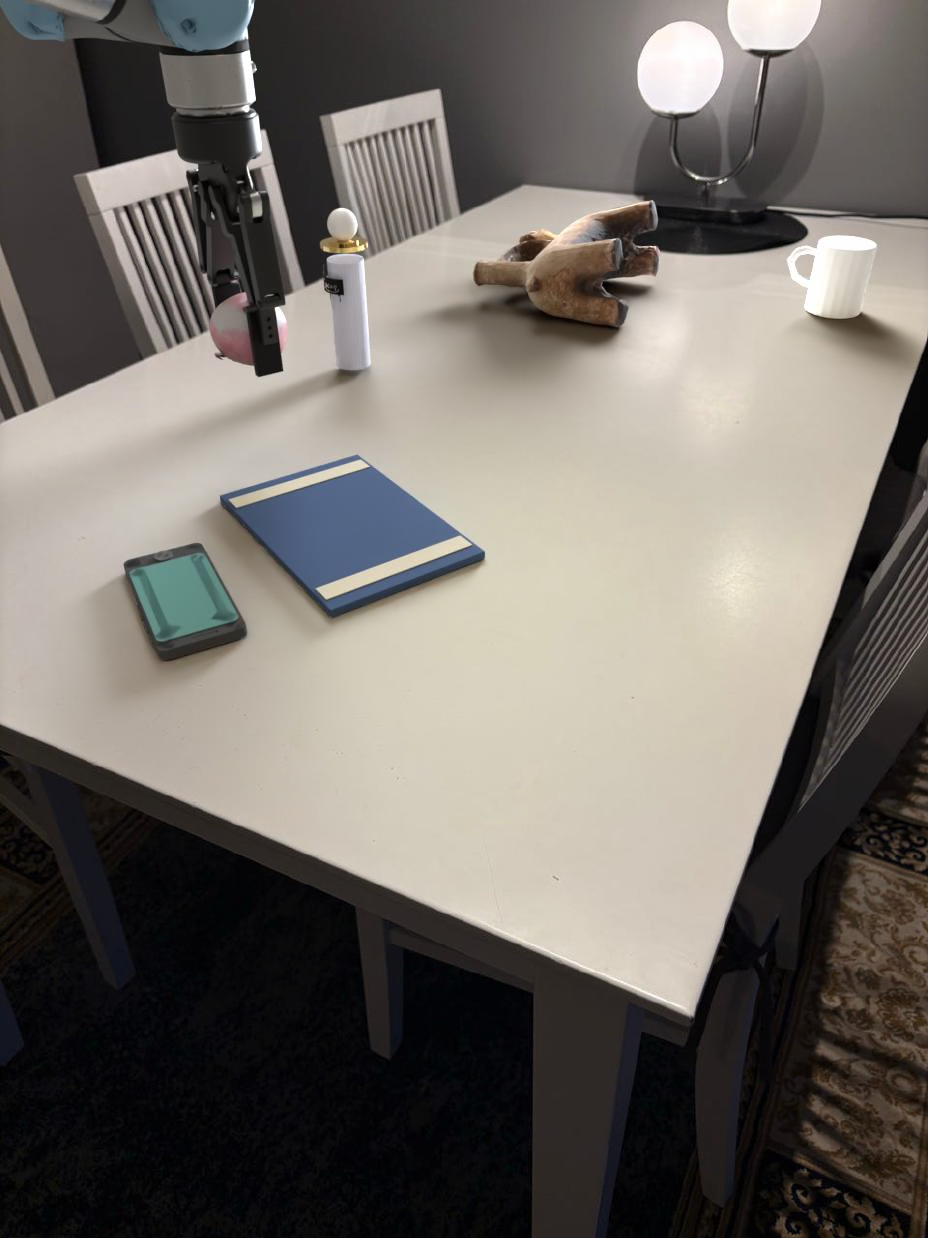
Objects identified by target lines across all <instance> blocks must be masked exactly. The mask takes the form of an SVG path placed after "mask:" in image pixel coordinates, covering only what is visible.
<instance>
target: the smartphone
mask: <svg viewBox="0 0 928 1238" xmlns="http://www.w3.org/2000/svg"><path fill="white" fill-rule="evenodd" d="M122 566H123V569H124V572H125V575H126V578H127V580H128V583H129V585H130V588H131V590H132V593H133V595H134V598H135V600H136V608H137V611H138V614H139V616H140V619H141V621H142V622H143V626H144V629H145V631H146V634H147V636H148V639H149V642H150V644H151V646H153V647H154V648H155V650H156V653H157V655H158V658H159V659H160V660H162V661H170V660H173V659H177V658H179V657H180V658H181V657H183V656H187V655H190V654H193V653H196V652H200V651H204V650H206V649H210V648H213V647H217V646H220V645H224V644H227V643H230V642H233V641H238V640H240V639H241V640H242V639H243V638H245V637H246V636H247V635H248V628H247V624H246V621H245V619H244V618H243V615H242V614H241V612H240V611H239V609H238V607H237V605H236V603H235V601H234V599H233V598H232V596H231V594H230V592H229V590H228V588H227V587H226V585H225V583H224V581H223V579H222V578H221V576H220V574H219V572H218V571H217V568H216V567H215V566H214V563H213V561H212V559H211V558H210V556H209V554H208V552H207V550H206V548H205V547H204V545H203V543H201V542H192V543H189V544H186V545H181V546H178V547H174V548H170V549H164V550H159V551H157V552H153V553H150V554H146V555H142V556H137V557H133V558H129V559H126V560H125V561H124V562H123V563H122Z"/></svg>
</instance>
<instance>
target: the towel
mask: <svg viewBox="0 0 928 1238" xmlns="http://www.w3.org/2000/svg"><path fill="white" fill-rule="evenodd" d="M219 502H220V504H222V505H223V507H224V508H226V509H227V510H228V512H229V513H230V514H231V515H232V516H233V517H234V518H235V519H236V520H237V521H238V522H239V524H241V525H242V526H243V528H245V529H246V530H247V532H249V534H250V535H251V536H252V537H253V538H254V539H255V540H256V541H257V542H258V543H259V544H260V545H261V546H262V547H263V548H264V549H265V550H266V551H267V552H268V553H269V555H270V556H271V557H272V558H273V559H274V560H275V561H276V562H277V563H278V564H279V565H280V567H282V568H283V569H284V570H285V571H286V572H287V573H288V575H290V576H291V577H292V578H293V579H294V580H295V582H296V583H297V584H298V585H299V586H300V587H301V588H302V589H303V590H304V591H305V592H306V593H307V594H308V595H309V596H310V597H311V598H312V599H313V600H314V601H315V603H317V604H318V605H319V606H320V608H321V609H322V610H323V611H325V613H326V614H327V615H328V616H329V618H334V617H337V616H340V615H342V614H345V613H347V612H350V611H353V610H355V609H358V608H360V607H363V606H365V605H368V604H372V603H374V602H376V601H378V600H381V599H384V598H386V597H389V596H391V595H394V594H396V593H399V592H402V591H405V590H408V589H409V588H412V587H415V586H418V585H420V584H422V583H426V582H428V581H430V580H433V579H435V578H438V577H440V576H443V575H445V574H448V573H451V572H453V571H456V570H459V569H461V568H464V567H467V566H469V565H472V564H474V563H477V562H480V561H482V560H485V559H486V551H485V550H484V549H482V548H481V547H480V546H479V545H477V544H475V542H474V541H472V540H471V539H469V538H468V537H467V536H465V535H464V534H463V533H461V532H460V531H459V530H457V529H456V528H455V527H453V526H452V525H451V524H450V523H448V522H447V521H446V520H444V519H443V518H442V517H440V515H438V514H436V513H435V512H434V511H433V510H431V509H430V508H428V506H426V505H424V503H422V502H420V501H419V500H418V499H417V498H415V497H414V496H413V495H411V494H410V493H409V492H408V491H406V490H405V489H404V488H402V487H401V486H399V485H398V484H397V483H396V482H395V481H393V480H391V479H390V478H389V477H387V475H386V474H384V473H383V472H381V471H380V470H379V469H377V468H376V467H374V466H373V465H372V464H371V463H369V462H368V461H367V460H365V459H364V458H363V457H362V456H360V455H359V454H354V455H351V456H347V457H343V458H340V459H338V460H334V461H330V462H328V463H323V464H319V465H318V466H314V467H310V468H307V469H303V470H301V471H297V472H294V473H290V474H287V475H284V476H280V477H276V478H273V479H271V480H267V481H264V482H260V483H257V484H254V485H250V486H247V487H244V488H240V489H237V490H233V491H231V492H227V493H223V494H220V495H219Z"/></svg>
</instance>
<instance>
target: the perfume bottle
mask: <svg viewBox="0 0 928 1238" xmlns="http://www.w3.org/2000/svg"><path fill="white" fill-rule="evenodd" d="M327 217H328V218H327V221H326V227H327V230H328V233H329V234H330V237H326V238H323V239H321V240H320V242H319V247H320V250H322V251H323V252H327V253H332V254H333V255H330V256H328V257H327V258H326V268H327V275H326V273H325V266H324V265H322V267H321V268H322V279H323V280H322V281H323V289H324V292H326V293H328V294H329V300H330V302H329V303H330V312H331V313H330V314H331V322H332V323H331V324H332V333H333V345H334V355H335V366H336V368H338V369H341V370H344V371H360V370H363V369H366V368H369V366H370V365H371V362H372V361H371V348H370V334H369V318H368V304H367V302H368V301H367V289H366V275H365V274H366V273H365V258H364V256H362V255H359V254H356V253H358V252H362V251H365V250H367V248H368V246H369V243H368V240H367V239H366V238H365V237H362V236H361V237H360V236H356V233H357V232H358V231H357V230H358V220H357V217H356V215H355V214H354V212H353V211H351V210H350V209H348V208H346V207H345V208H344V207H338V208H335V209H334V210H332V211H331V212H330V213H329V215H328V216H327Z"/></svg>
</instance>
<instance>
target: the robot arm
mask: <svg viewBox="0 0 928 1238" xmlns="http://www.w3.org/2000/svg"><path fill="white" fill-rule="evenodd" d="M255 1H256V0H0V8H1V11H2V12H3V14H4V15H5V17H6V18H7V20H8V21H9V23H10V24H11V26H12V27H13V28H14V29H15V31H17V32H18V33H19V34H20V35H22V36H23V37H24V38H27V39H29V40H34V41H39V40H40V41H45V40H49V41H50V40H54V41H55V40H57V41H59V42H66V41H67V40H71V39H99V40H100V39H101V40H109V41H110V40H111V41H117V42H127V43H136V44H137V43H138V44H144V43H145V44H152V45H158V51H159V52H158V54H159V60H160V66H161V71H162V72H161V73H162V78H163V83H164V88H165V96H166V101H167V103H168V104H169V106H170V107H172V108H174V109H175V112H173V114H172V116H171V124H172V128H173V130H172V131H173V136H174V140H175V147H176V152H177V155H178V157H179V159H180V160H182V161H183V162H186V163H189V164H194V165H197V168H194V169H187V170H186V171H185V178H186V182H187V186H188V190H189V194H190V198H191V207H192V208H191V209H192V218H193V225H194V232H195V243H196V248H197V257H198V268H199V270H200V273H201V274H202V275H206V279H207V281H208V283H209V285H211V293H212V298H213V303H214V310H215V309H216V308H217V307H218V306H219V305H220V304H221V303H222V302H224V301H225V300H227V299H228V298H230V297H232V296H234V295H236V294H239V293H242V292H241V286H240V285H241V284H240V283H239V282H234V281H240V280H241V281H242V286H243V288H244V292H246V296H247V299H248V303H249V306H246V307H244V308H242V309H243V311H244V313H245V314H246V316H247V322H248V329H249V335H250V342H251V349H252V355H253V362H254V366H253V368H254V374H255V376H256V377H257V378H262V377H265V376H270V375H274V374H278V373H282V372H284V364H283V356H282V353H281V349H280V341H279V333H278V326H277V318H276V310H275V308H276V307H279V308H280V307H284V306H285V305H286V296H285V295H286V294H285V291H284V286H283V281H282V274H281V269H280V264H279V258H278V251H277V247H276V242H275V236H274V232H273V225H272V221H271V220H272V219H271V203H270V195H269V193H268V192H267V190H258V191H256V190H255V187H254V183H253V181H252V177H251V175H250V170H249V168H248V164H249V163H250V161H252V160H257V159H258V158H260V157H261V155H262V154H263V141H262V134H261V133H262V132H261V125H260V117H259V113H257V112H256V110H255V109H254V108H251V106H252V104H254V102H256V91H255V84H254V83H255V82H254V75H253V74H254V73H256V71H257V66H256V63H255V62H254V61H252V59H251V58H252V57H251V51H250V44H249V33H248V26H249V24H250V22H251V18H252V15H253V11H254V4H255ZM235 265H237V268H238V270H237V269H235ZM231 282H232V283H231Z"/></svg>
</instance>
